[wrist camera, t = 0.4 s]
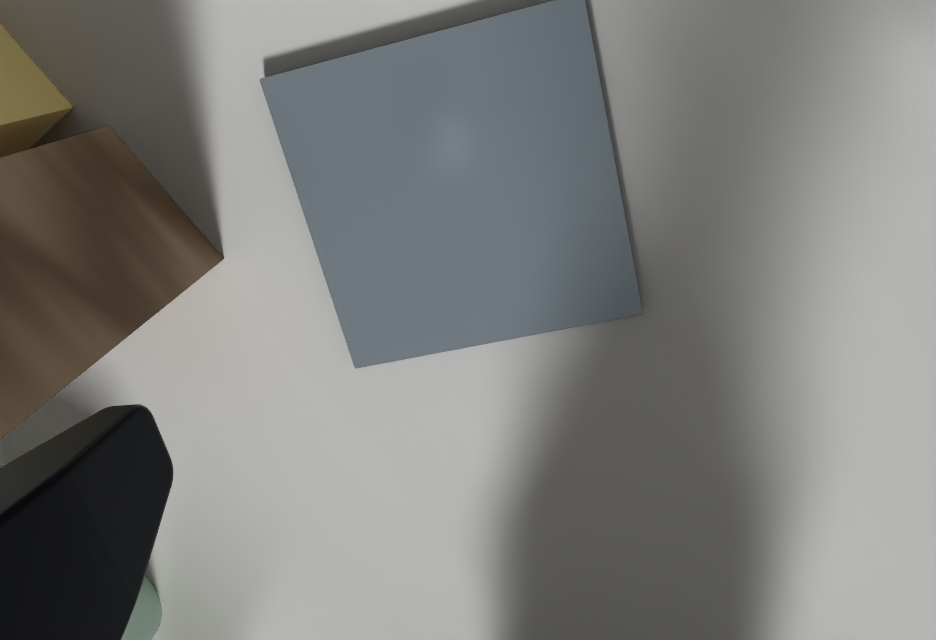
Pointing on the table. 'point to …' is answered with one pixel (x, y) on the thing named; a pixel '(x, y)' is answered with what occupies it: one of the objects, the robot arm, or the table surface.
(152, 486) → the robot arm
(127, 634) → the pale green rounded piece
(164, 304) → the walnut block
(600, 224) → the coaster
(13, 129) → the pale yellow cube
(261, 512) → the table surface
